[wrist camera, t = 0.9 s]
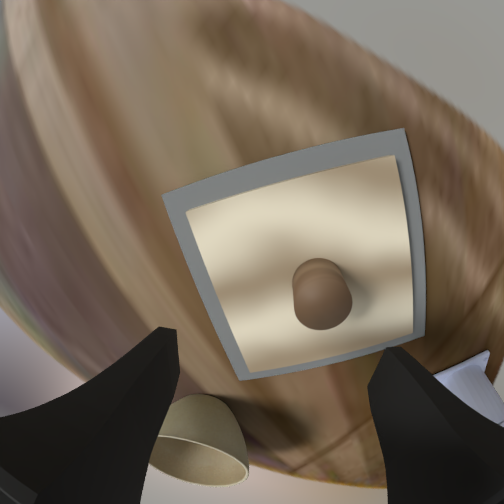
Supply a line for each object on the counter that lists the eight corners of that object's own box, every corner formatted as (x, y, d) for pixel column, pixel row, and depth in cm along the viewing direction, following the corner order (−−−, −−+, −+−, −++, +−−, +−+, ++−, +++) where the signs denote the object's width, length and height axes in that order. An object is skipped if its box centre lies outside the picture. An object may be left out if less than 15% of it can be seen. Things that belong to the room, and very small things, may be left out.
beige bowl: (277, 414, 24) (274, 475, 17) (212, 442, 27) (201, 491, 20) (197, 358, 22) (172, 424, 15) (142, 397, 25) (117, 447, 18)
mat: (422, 332, 19) (424, 335, 19) (240, 377, 22) (239, 380, 22) (401, 128, 14) (403, 128, 14) (163, 194, 17) (161, 194, 17)
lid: (409, 327, 19) (427, 357, 15) (251, 366, 21) (245, 400, 18) (389, 155, 15) (417, 156, 11) (189, 209, 17) (166, 224, 14)
